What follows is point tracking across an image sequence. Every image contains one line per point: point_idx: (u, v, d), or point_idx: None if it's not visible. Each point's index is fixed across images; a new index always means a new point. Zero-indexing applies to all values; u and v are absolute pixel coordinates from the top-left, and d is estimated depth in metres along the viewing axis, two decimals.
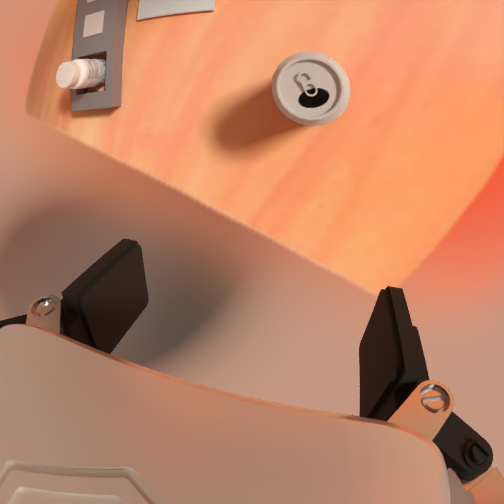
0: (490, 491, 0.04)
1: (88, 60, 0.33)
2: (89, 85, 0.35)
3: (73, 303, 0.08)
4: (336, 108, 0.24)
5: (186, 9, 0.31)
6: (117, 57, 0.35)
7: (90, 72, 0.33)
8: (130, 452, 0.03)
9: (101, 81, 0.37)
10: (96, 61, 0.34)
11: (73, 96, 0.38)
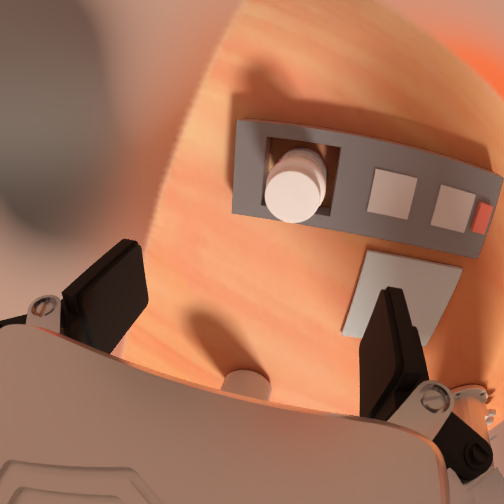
0: (489, 491, 0.04)
1: None
2: None
3: (73, 303, 0.08)
4: None
5: (353, 312, 0.34)
6: None
7: None
8: (130, 452, 0.03)
9: None
10: None
11: (265, 129, 0.25)
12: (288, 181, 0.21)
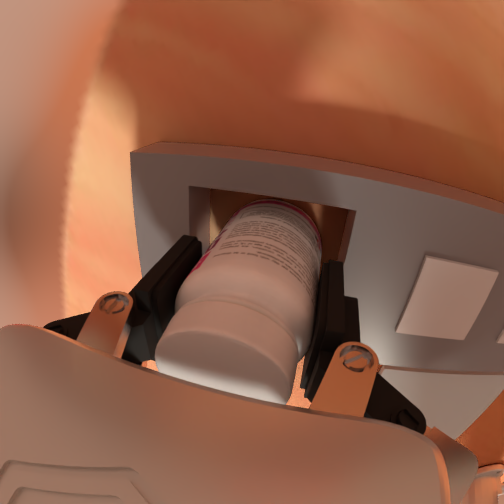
0: None
1: None
2: None
3: (147, 299, 0.09)
4: None
5: None
6: None
7: None
8: (130, 452, 0.03)
9: None
10: None
11: (184, 170, 0.11)
12: (204, 352, 0.07)
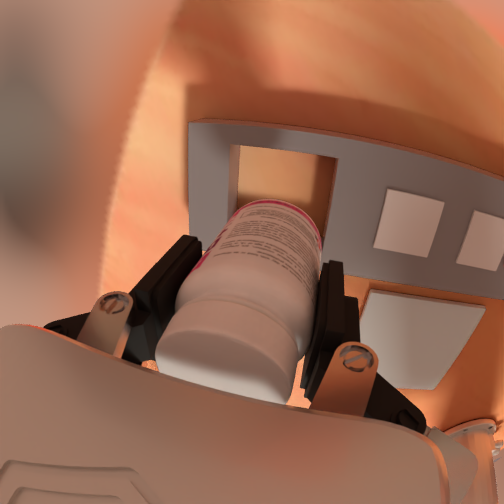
0: None
1: None
2: None
3: (147, 299, 0.09)
4: None
5: None
6: None
7: None
8: (130, 452, 0.03)
9: None
10: None
11: (227, 134, 0.17)
12: (204, 352, 0.07)
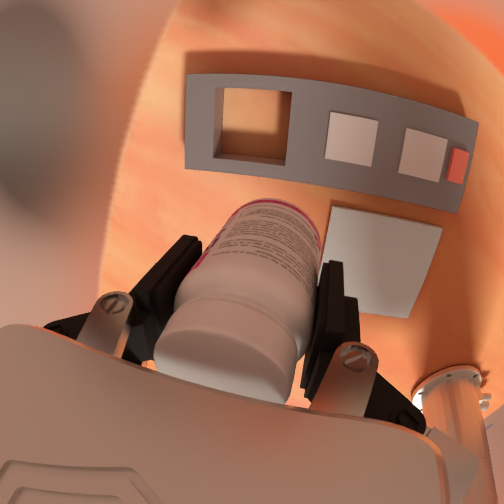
0: None
1: None
2: None
3: (147, 299, 0.09)
4: None
5: None
6: None
7: None
8: (130, 452, 0.03)
9: None
10: None
11: (213, 80, 0.23)
12: (203, 352, 0.07)
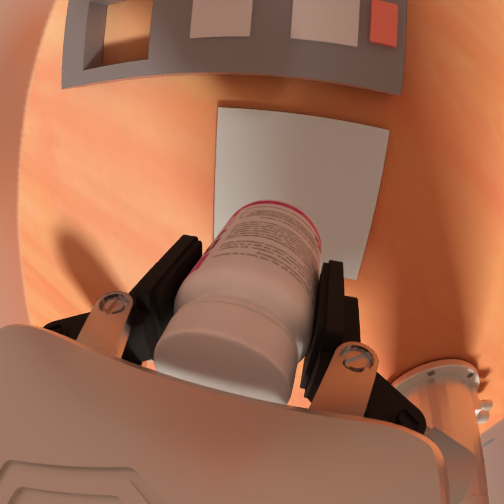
0: None
1: None
2: None
3: (147, 299, 0.09)
4: None
5: (219, 212, 0.24)
6: (141, 77, 0.19)
7: None
8: (130, 452, 0.03)
9: None
10: None
11: None
12: (203, 354, 0.07)
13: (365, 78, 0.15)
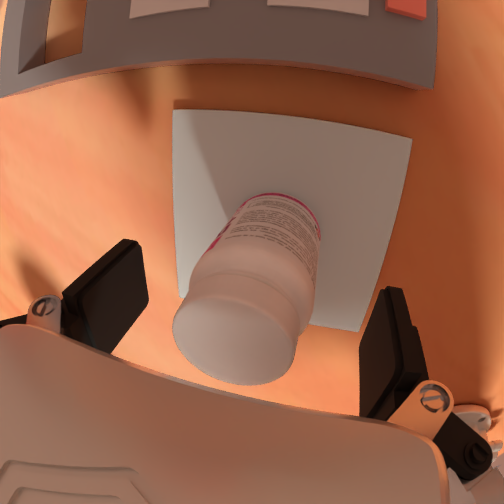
0: (489, 491, 0.04)
1: None
2: None
3: (73, 303, 0.08)
4: None
5: (181, 248, 0.18)
6: (79, 76, 0.13)
7: None
8: (130, 452, 0.03)
9: None
10: None
11: None
12: (218, 318, 0.09)
13: (381, 62, 0.09)
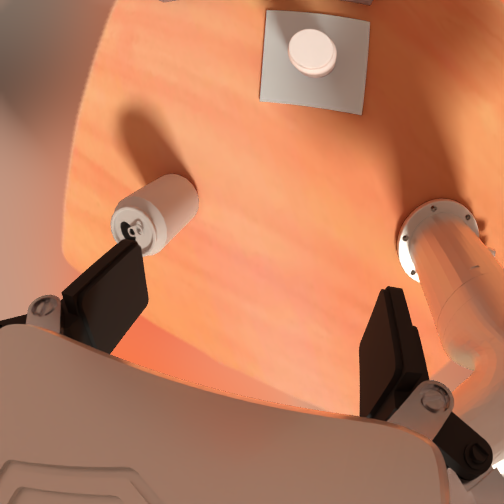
0: (490, 491, 0.04)
1: (330, 69, 0.26)
2: None
3: (73, 303, 0.08)
4: None
5: (265, 70, 0.31)
6: None
7: (309, 74, 0.26)
8: (130, 452, 0.03)
9: None
10: (328, 72, 0.27)
11: None
12: (307, 36, 0.21)
13: None
